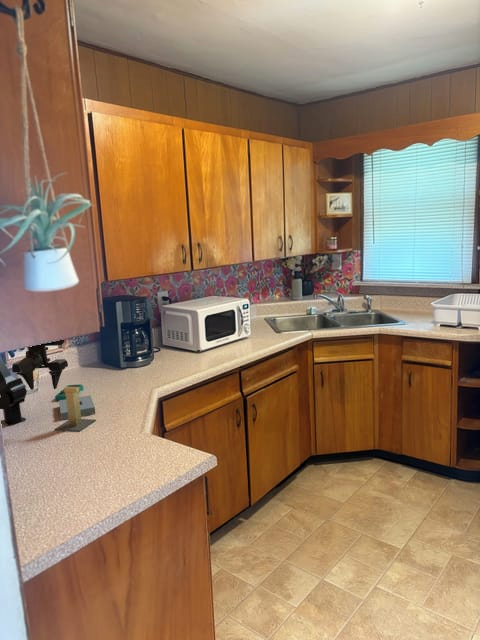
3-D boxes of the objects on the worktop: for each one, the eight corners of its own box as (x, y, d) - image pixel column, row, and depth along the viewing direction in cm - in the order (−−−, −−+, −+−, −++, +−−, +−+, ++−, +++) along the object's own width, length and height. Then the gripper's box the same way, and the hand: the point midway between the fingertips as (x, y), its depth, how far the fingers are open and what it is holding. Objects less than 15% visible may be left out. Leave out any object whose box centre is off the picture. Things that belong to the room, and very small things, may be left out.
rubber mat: (54, 430, 166) (54, 429, 166) (71, 419, 175) (71, 418, 175) (79, 431, 163) (79, 430, 163) (95, 420, 173) (95, 419, 173)
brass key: (66, 425, 169) (62, 388, 166) (72, 422, 171) (67, 386, 169) (79, 426, 167) (74, 389, 165) (84, 423, 170) (80, 386, 168)
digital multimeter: (54, 402, 197) (53, 395, 196) (67, 390, 212) (66, 384, 211) (72, 401, 197) (71, 394, 196) (84, 390, 212) (83, 383, 211)
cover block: (61, 419, 176) (60, 413, 175) (59, 406, 190) (58, 400, 190) (95, 413, 180) (94, 407, 180) (90, 401, 195) (90, 395, 194)
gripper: (-3, 353, 162) (5, 397, 164) (46, 350, 157) (53, 396, 160) (19, 345, 172) (26, 387, 175) (65, 343, 168) (72, 385, 171)
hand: (43, 389), depth 170 cm, fingers open, 9 cm apart
